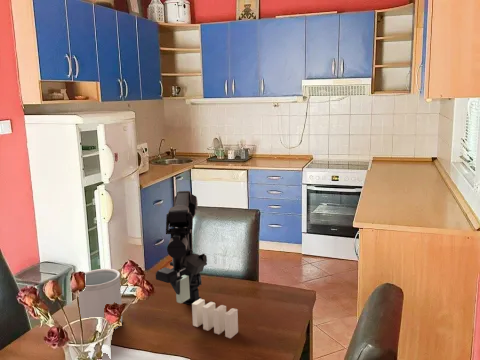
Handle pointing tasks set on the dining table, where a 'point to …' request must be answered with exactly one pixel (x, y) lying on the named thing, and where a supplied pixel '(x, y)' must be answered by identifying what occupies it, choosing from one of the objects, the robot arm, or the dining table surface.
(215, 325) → the cream domino
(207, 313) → the cream domino
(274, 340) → the dining table surface
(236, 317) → the cream domino
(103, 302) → the utensil holder
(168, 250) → the robot arm
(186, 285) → the sage domino
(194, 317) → the cream domino
